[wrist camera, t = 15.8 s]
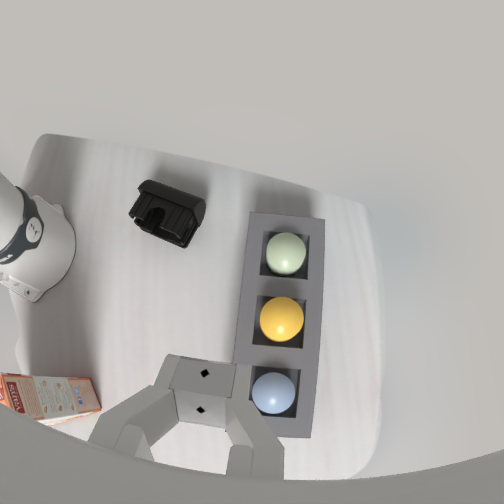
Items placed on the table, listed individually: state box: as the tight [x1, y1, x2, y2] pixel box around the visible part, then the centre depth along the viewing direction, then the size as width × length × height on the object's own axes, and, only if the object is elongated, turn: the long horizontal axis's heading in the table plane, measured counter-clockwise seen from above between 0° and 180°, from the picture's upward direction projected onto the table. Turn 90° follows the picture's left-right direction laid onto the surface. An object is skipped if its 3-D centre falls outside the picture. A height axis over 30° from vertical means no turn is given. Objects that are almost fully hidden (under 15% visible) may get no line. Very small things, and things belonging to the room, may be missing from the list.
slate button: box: [252, 372, 295, 414], centre depth 35 cm, size 5×5×4 cm
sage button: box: [266, 233, 306, 278], centre depth 41 cm, size 5×5×4 cm
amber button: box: [260, 297, 304, 342], centre depth 36 cm, size 5×5×4 cm
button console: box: [225, 212, 325, 438], centre depth 41 cm, size 10×28×8 cm, turn 174°
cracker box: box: [0, 373, 101, 426], centre depth 30 cm, size 14×6×21 cm, turn 114°
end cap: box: [129, 180, 206, 248], centre depth 48 cm, size 10×7×7 cm
